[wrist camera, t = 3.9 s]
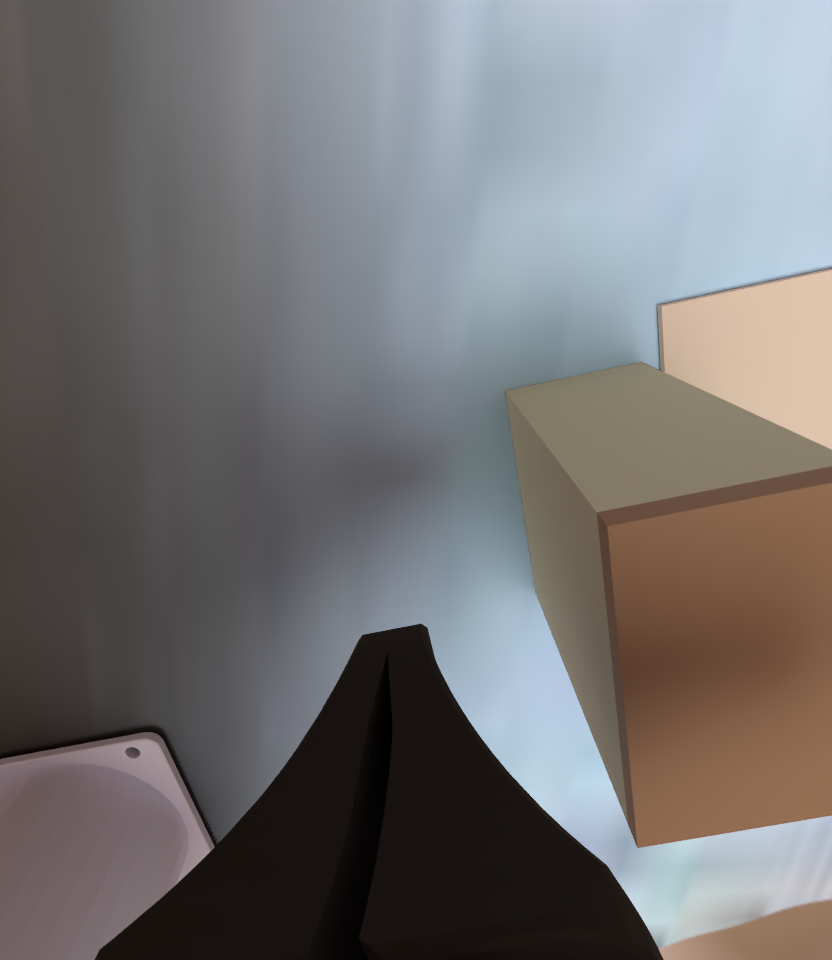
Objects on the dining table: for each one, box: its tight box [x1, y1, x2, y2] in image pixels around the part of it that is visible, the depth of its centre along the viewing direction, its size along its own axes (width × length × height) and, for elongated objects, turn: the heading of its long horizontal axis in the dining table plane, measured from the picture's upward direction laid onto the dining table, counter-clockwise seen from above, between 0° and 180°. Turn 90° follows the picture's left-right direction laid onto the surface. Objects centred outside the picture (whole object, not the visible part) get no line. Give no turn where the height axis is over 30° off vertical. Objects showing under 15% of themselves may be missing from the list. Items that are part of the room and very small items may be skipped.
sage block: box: [505, 362, 832, 848], centre depth 14 cm, size 4×7×9 cm, turn 11°
